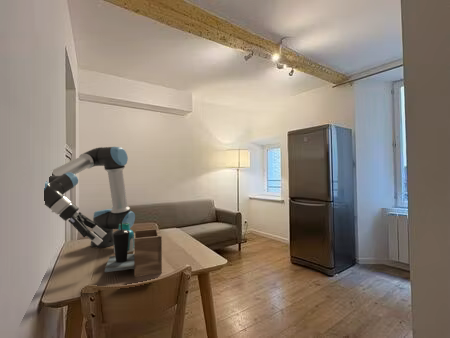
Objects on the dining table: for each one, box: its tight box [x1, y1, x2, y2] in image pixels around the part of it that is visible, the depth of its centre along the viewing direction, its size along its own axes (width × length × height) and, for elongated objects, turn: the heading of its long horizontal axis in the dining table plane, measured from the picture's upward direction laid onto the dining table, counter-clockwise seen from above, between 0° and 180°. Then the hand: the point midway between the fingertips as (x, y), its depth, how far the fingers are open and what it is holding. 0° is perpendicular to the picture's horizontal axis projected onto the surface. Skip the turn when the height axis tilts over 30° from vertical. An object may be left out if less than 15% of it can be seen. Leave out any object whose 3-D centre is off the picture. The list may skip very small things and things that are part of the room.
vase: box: [113, 223, 135, 255], centre depth 135 cm, size 11×11×19 cm
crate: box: [104, 228, 163, 278], centre depth 119 cm, size 18×24×17 cm
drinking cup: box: [113, 219, 130, 262], centre depth 117 cm, size 8×8×20 cm
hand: (102, 239), depth 114 cm, fingers open, 13 cm apart
